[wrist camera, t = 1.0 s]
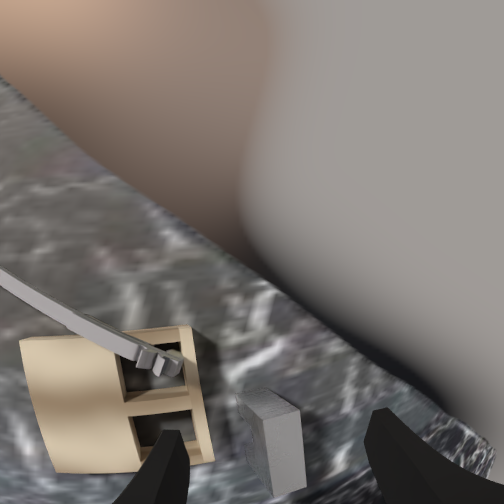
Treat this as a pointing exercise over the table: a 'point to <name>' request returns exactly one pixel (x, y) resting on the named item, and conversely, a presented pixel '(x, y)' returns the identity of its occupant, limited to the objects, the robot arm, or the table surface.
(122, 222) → the table surface
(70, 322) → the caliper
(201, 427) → the tan wooden flat block
